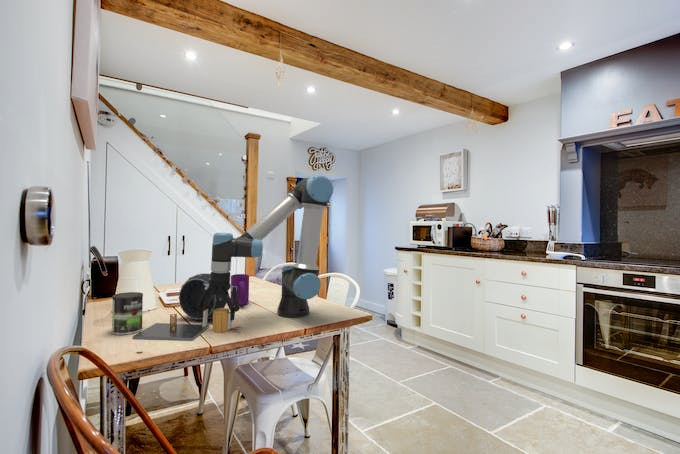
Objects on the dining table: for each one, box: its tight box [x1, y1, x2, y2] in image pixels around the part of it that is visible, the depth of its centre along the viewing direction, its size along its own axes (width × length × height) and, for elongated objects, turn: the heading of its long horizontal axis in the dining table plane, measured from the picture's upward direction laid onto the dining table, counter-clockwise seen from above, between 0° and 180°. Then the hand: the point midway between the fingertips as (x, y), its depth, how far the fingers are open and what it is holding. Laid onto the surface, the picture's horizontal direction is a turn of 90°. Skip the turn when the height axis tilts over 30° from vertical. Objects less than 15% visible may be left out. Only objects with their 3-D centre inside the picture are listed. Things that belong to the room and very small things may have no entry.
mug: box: [230, 273, 250, 307], centre depth 179 cm, size 9×16×15 cm, turn 24°
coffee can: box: [111, 291, 144, 336], centre depth 137 cm, size 10×10×14 cm
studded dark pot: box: [178, 273, 227, 322], centre depth 154 cm, size 11×20×20 cm, turn 78°
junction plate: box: [132, 313, 210, 342], centre depth 136 cm, size 22×16×7 cm
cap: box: [212, 307, 230, 333], centre depth 140 cm, size 6×6×8 cm
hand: (217, 327), depth 140 cm, fingers open, 9 cm apart
